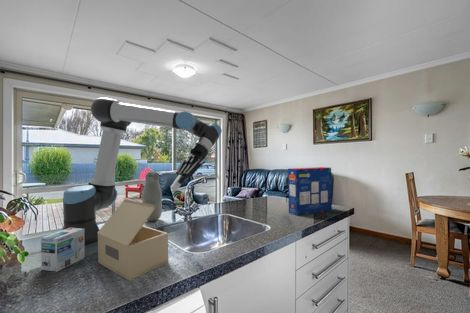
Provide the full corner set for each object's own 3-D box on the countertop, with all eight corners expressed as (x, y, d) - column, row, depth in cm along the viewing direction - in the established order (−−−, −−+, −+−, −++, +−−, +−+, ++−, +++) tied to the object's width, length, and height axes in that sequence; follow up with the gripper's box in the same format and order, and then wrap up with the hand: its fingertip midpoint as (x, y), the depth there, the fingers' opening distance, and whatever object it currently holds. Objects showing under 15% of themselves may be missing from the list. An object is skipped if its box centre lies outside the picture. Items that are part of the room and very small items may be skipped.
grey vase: (139, 223, 124) (138, 172, 124) (149, 218, 134) (148, 171, 134) (156, 223, 122) (155, 172, 122) (164, 218, 132) (164, 170, 132)
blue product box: (322, 208, 153) (321, 167, 153) (331, 210, 146) (331, 167, 146) (288, 212, 142) (288, 168, 142) (297, 215, 135) (296, 169, 134)
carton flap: (98, 233, 78) (96, 232, 77) (125, 200, 86) (124, 199, 85) (127, 246, 66) (126, 245, 66) (156, 206, 74) (155, 205, 74)
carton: (97, 262, 78) (97, 233, 78) (136, 248, 89) (135, 223, 89) (128, 280, 66) (127, 246, 66) (168, 262, 77) (167, 233, 77)
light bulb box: (57, 272, 71) (56, 238, 71) (40, 270, 73) (39, 237, 73) (85, 257, 82) (85, 228, 82) (70, 256, 83) (70, 227, 83)
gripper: (215, 154, 104) (189, 196, 90) (195, 154, 111) (168, 193, 98) (207, 142, 99) (178, 184, 86) (187, 143, 107) (157, 182, 93)
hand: (173, 189), depth 92 cm, fingers closed
